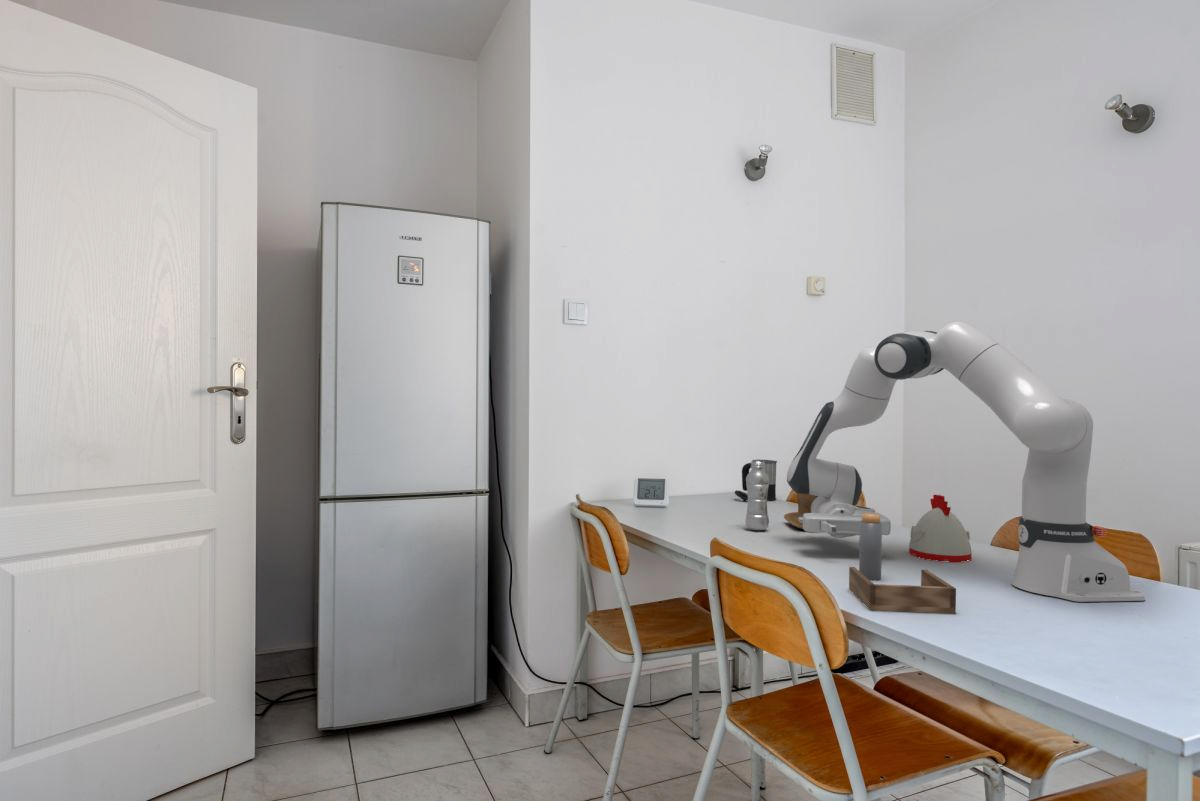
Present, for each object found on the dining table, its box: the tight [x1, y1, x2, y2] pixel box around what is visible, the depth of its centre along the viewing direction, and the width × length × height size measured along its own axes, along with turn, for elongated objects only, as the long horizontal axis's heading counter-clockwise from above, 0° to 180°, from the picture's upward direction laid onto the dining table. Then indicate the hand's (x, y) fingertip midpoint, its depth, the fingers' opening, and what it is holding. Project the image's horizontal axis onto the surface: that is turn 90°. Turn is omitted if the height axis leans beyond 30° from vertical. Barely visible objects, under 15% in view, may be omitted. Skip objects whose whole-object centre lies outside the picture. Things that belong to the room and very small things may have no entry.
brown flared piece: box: [783, 493, 819, 530], centre depth 208 cm, size 15×12×15 cm
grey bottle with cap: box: [858, 513, 883, 581], centre depth 151 cm, size 4×4×14 cm
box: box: [848, 566, 957, 615], centre depth 134 cm, size 15×14×4 cm
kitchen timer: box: [908, 494, 972, 563], centre depth 173 cm, size 14×14×15 cm
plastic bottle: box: [744, 460, 770, 532], centre depth 203 cm, size 6×7×20 cm
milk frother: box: [734, 459, 778, 502], centre depth 264 cm, size 14×16×15 cm
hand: (853, 530), depth 163 cm, fingers open, 8 cm apart
